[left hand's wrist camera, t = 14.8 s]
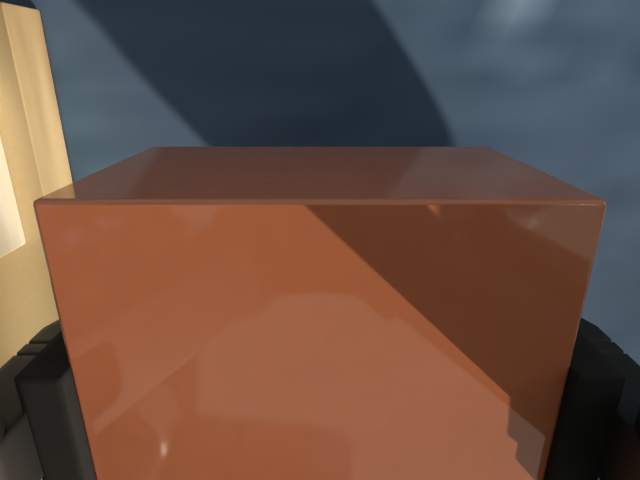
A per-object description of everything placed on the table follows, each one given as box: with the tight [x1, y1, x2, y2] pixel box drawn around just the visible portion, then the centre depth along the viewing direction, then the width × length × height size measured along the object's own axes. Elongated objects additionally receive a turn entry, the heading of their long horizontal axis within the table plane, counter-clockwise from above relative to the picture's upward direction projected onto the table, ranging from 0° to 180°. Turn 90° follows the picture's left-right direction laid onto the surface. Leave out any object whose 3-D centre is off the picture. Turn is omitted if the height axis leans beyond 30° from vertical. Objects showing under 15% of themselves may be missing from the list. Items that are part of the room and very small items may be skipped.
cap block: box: [33, 147, 606, 480], centre depth 10 cm, size 8×8×5 cm
